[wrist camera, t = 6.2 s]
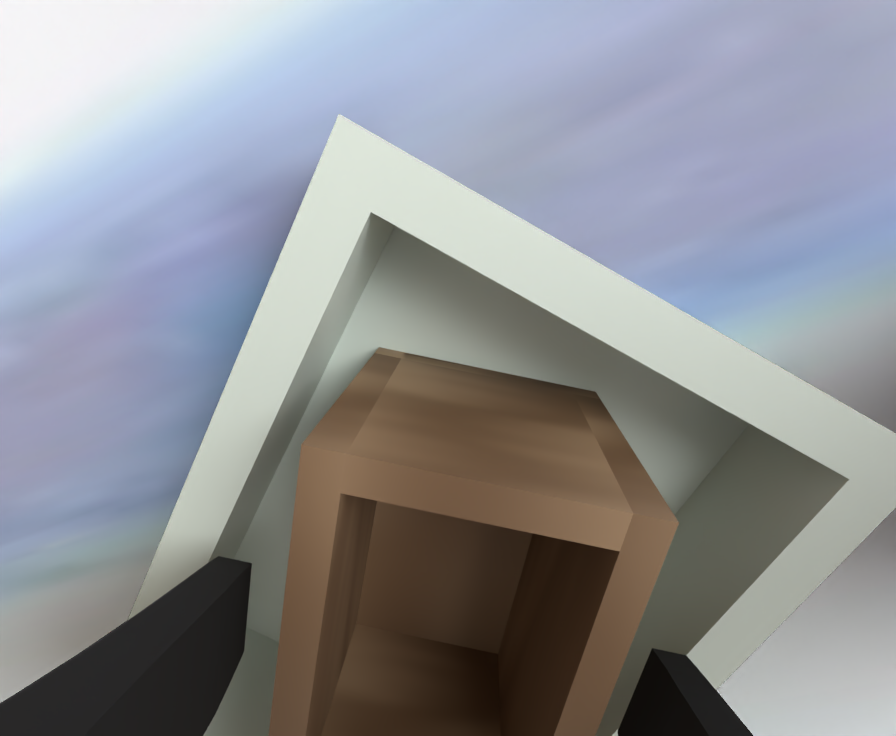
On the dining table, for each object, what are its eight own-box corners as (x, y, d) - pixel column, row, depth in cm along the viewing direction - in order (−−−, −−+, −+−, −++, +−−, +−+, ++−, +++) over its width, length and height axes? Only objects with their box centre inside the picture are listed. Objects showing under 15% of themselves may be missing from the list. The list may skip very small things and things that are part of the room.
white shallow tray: (808, 388, 11) (942, 459, 8) (501, 755, 15) (506, 903, 12) (384, 146, 11) (339, 114, 7) (177, 603, 15) (86, 717, 11)
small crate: (596, 391, 11) (679, 523, 6) (514, 659, 14) (530, 900, 9) (379, 347, 11) (301, 444, 6) (336, 621, 14) (256, 840, 9)
